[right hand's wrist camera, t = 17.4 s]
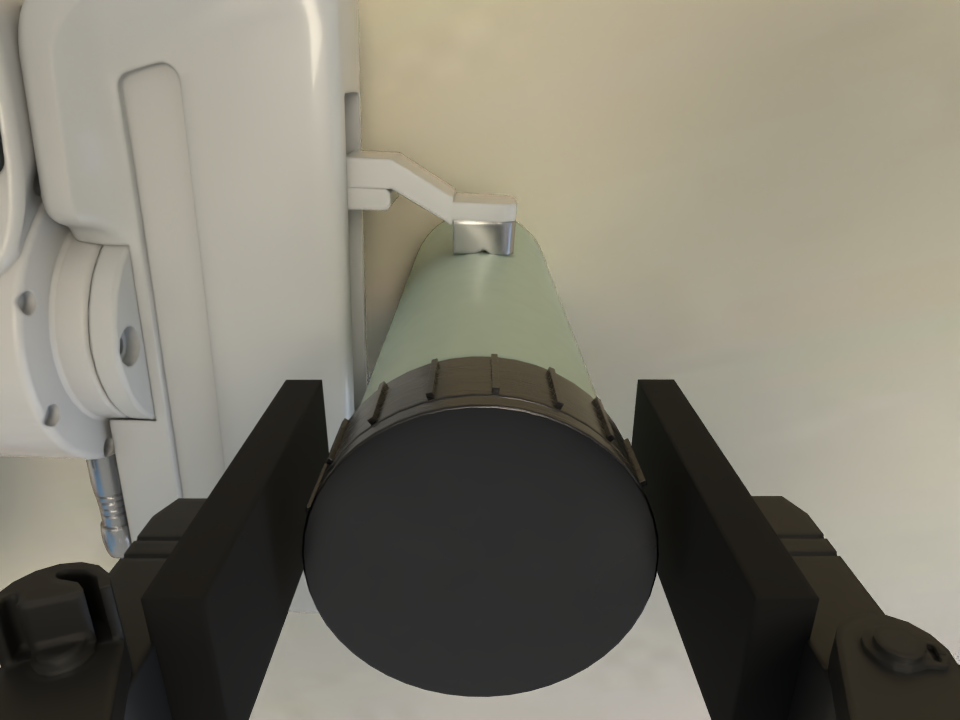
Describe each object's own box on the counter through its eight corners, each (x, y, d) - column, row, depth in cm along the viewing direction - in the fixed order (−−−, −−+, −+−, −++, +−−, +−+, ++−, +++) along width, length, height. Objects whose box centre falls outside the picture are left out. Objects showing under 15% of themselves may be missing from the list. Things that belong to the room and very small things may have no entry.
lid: (433, 286, 11) (424, 326, 9) (701, 463, 12) (740, 528, 10) (267, 528, 13) (232, 601, 11) (516, 661, 14) (522, 746, 12)
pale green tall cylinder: (572, 254, 26) (702, 490, 11) (502, 362, 28) (530, 697, 13) (455, 184, 25) (416, 335, 10) (390, 300, 27) (271, 582, 12)
